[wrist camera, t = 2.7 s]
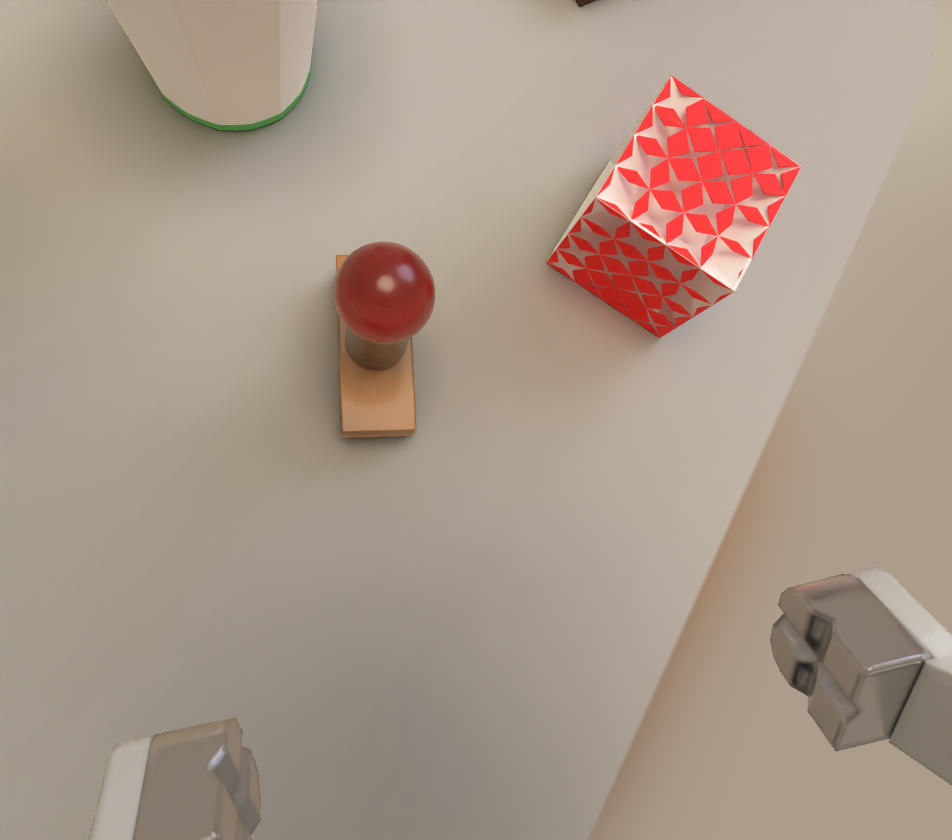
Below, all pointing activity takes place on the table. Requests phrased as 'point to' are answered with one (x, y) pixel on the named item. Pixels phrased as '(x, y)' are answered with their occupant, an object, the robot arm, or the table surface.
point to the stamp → (379, 337)
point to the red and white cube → (675, 212)
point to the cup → (224, 55)
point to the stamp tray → (583, 2)
